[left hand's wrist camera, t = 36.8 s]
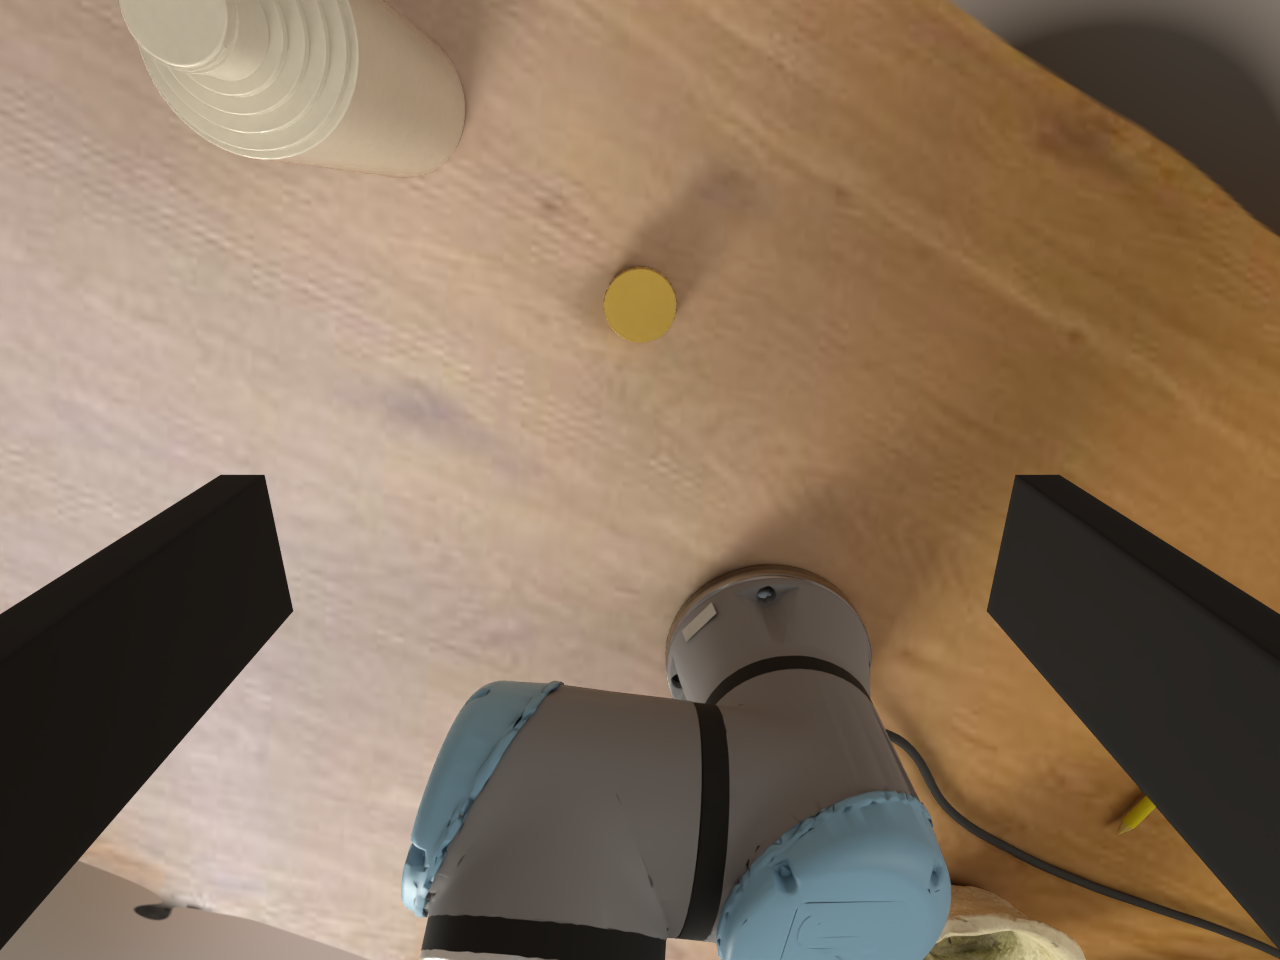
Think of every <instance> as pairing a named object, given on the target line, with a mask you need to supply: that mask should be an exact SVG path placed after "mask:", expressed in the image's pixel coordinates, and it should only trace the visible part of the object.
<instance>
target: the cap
mask: <svg viewBox="0 0 1280 960" xmlns="http://www.w3.org/2000/svg"><path fill="white" fill-rule="evenodd" d="M676 303H677V301H676V298H675V292H674V291H673V289H672V285H671V283H669V282H668V280H667V277H664V276H663V275H662V274H661V272H658V271H656V270H654V269H653V268H652V269H651V268H647V267H646V266H644V267H637V266H636V267H633V268H628V269H627V270H625V271H623V272H622V271H621V273H620V274H619V275H617V276H615V277H614V280H613V281H612V282H610V284H609V288H608V290H606V296H605V299H604V310H605V315H606V318H607V321H608V323H609V325H610V326H611V328H612V329H613V330H614V332H616V333H617V334H618V335H619V336H620V337H622V338H624V339H626V340H629V341H632V342H648V341H652V340H654V339H656V338H658V337H660V336H661V335H663V334H664V333H665V332H666V331H667V330H668V328H669V327H670V326H671V324H672V322H673V320H674V318H675V313H676V311H677V309H676Z"/></svg>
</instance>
